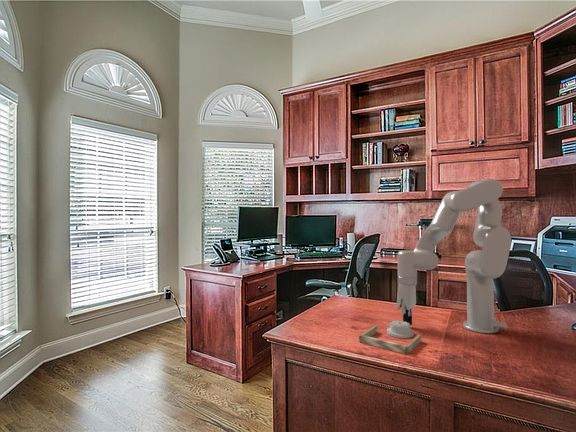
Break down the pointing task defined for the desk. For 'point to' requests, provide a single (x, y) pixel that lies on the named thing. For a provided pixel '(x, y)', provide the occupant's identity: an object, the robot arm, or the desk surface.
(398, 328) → the mechanical component
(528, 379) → the desk surface
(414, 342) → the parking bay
